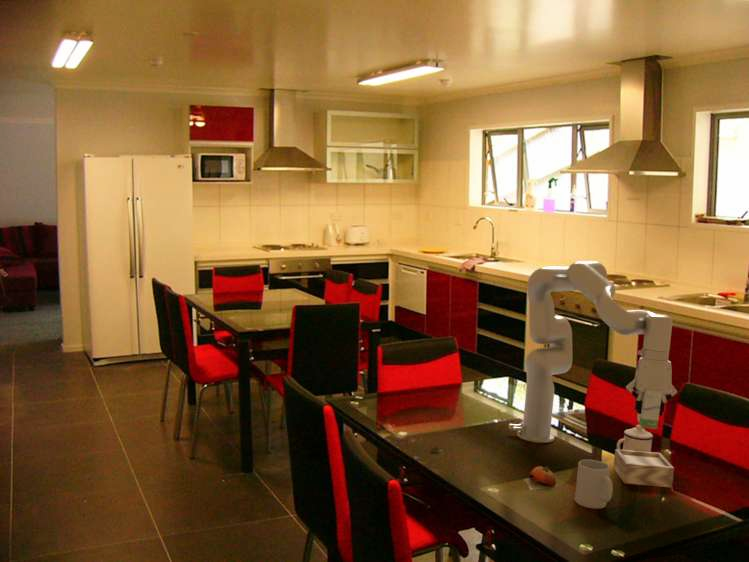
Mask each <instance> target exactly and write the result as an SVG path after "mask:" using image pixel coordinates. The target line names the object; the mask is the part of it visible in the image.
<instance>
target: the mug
mask: <svg viewBox="0 0 749 562" xmlns="http://www.w3.org/2000/svg"><path fill="white" fill-rule="evenodd" d="M610 473H611V467H610V465H609V464H608V463H606V462H603V461H600V460H596V459H581V460H580V461H578V466H577V473H576V474H577V475H576V484H575V493H574V501H575V503H577V505H579V506H581V507H584V508H588V509H593V510H595V509H596V510H598V509H604V508H605V507H606V506H607V503H608V502H610V501H611V499H612V497H613V489H614V487H613V481H612V479H611V478H610Z"/></svg>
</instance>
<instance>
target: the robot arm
mask: <svg viewBox="0 0 749 562" xmlns="http://www.w3.org/2000/svg"><path fill="white" fill-rule="evenodd" d="M607 277H608V272H607V269H606V267H605V266H604V265H603V264H602V263H601V262H599V261H594V260H591V261H589V260H587V261H586V260H580V261H579V260H578V261H575V262H573V263H571V264H570V265H569V266H558V265H557V266H542V267H540V268H538V269H536V270H534V271H533V272H532V273H531V274H530V276H529V278H528V281H527V285H526V286H527V287H526V288H527V290H526V291H527V298H528V309H529V310H528V312H529V316H528V318H529V320H528V321H529V323H528V324H529V336H530V337H529V338H530V339H531V341H532V342H534V343H535V344H538V345H547V344H548V346H549V347H541V348H540V347H539V348H536V349H535V348H534V349H533V350H532V351H530V352H529V353H528V354H527V355H526V359H525V371H526V385H525V387H526V388H525V399H524V408H523V409H524V410H523V419H522V420H523V421H521V423H517V424H516V423H509V424H508V429H509V430H513V431H515V432H517V438H520V439H521V440H523V441H527V442H530V443H531V442H532V443H535V444H536V443H537V444H545V443H546V444H548V443H552V442H554V440H555V435H554V434H553V433H551V430H552V429H551V428H552V418H553V410H554V409H553V408H554V398H555V385H554V381H553V378H552V376H554V375H561V374H565V373H568V371H569V370H570V369H571V368H572V364H573V329H572V326H571V324H570V322H569V320H568V319H567V318H566V317H564V316H561V315H555V303H554V299H553V297H552V295H551V294H550V293H552V292H571V291H579V292H580V293H581V294H582V295H583V296H585V297H586V298H587V299H588V300H590V302H591V303H593V304H594V305H595V309H596V312H597V315H598V316H599V318H600V319H601V320H602V321H603V323H605V324H606V325H607V326H608V327H609V328H610V329H611V330H613V331H614V332H616V333H617V334H619V335H622V336H632V335H643V344H642V346H643V347H642V348H641V349H640V350H639V349H638V350H637V355H638V356H639V355H640V356H641V357H639V359H638V363H637V366H636V370H635V374H634V379H632V381H631V382H630V381H629V383H628V384H627V385H626V386H625V388H626V390H627V391H629V393H630V394H631V395H632V396H633V398H634V399H635V405H634V410H635V412H636V413H637V415H638V414H641V410H642V401H641V398H642V396H643V394H644V393H645V390H646V388H647V389H653V390H661V391H662V398H661V405H660V412H659V416H661V417H662V416H663V413H664V412H665V404H666V403H667V402H668V401H669V400H670V399H671V398H672V397H674V396H675V395H676V394H678V390H677V389H676V388H675V386H674V385H673V384H672V382H673V381H672V376H673V374H672V372H673V371H672V370H673V369H672V361H670V360H669V356H670V349H671V337H672V331H673V330H672V329H673V319H672V317H671V316H669V315H667V314H661V313H654V312H651V311H649V310H647V309H646V310H645V309H629V310H628V309H627V310H626V309H625V308H623V307H622V306H621V305H619V304H618V303H617V302H616V301H615V300H614V299H613V298H614V296H615V294H616V286H615V285H614V284H613V282H611V281H610V280H608V278H607ZM634 388H635V390H637V391H635V390H634Z"/></svg>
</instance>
